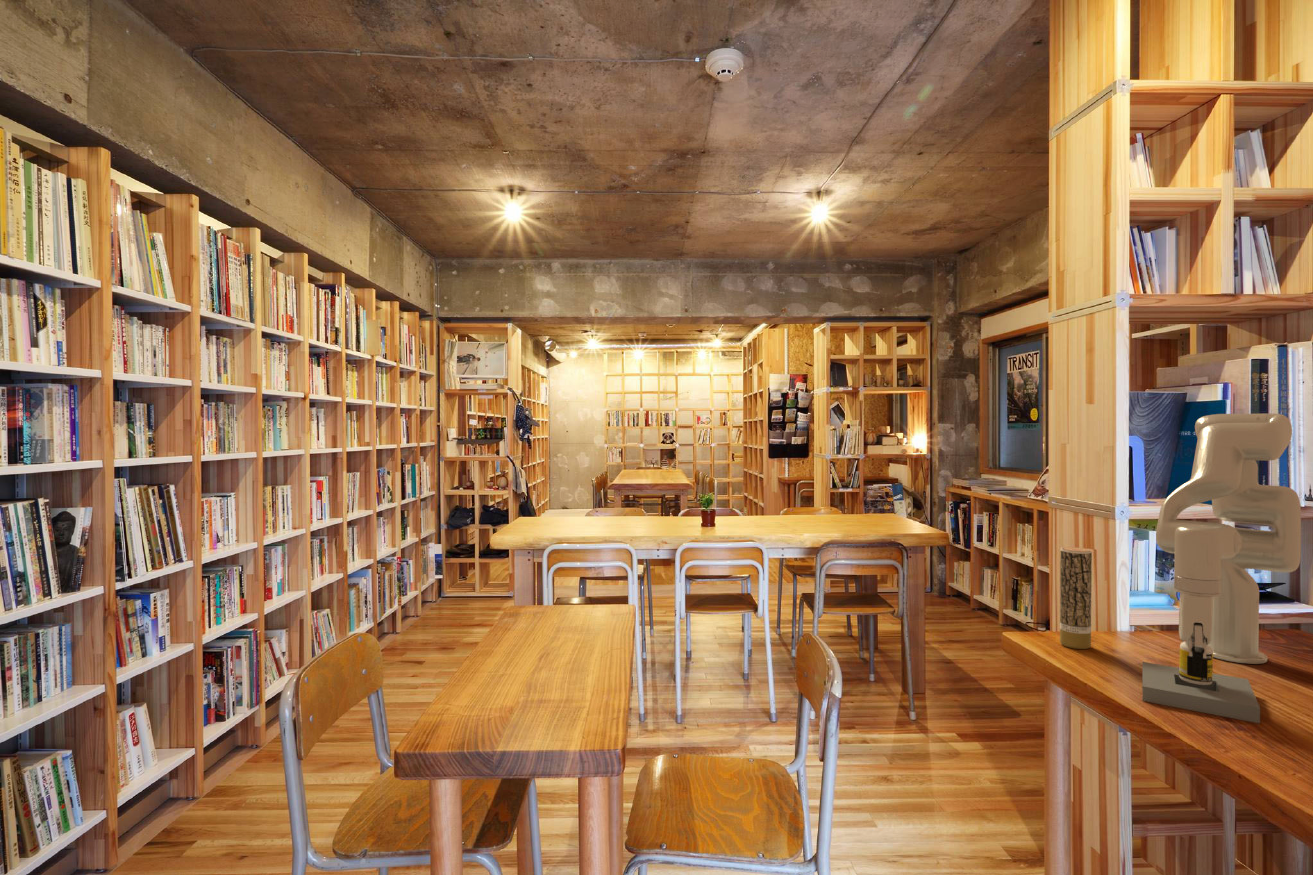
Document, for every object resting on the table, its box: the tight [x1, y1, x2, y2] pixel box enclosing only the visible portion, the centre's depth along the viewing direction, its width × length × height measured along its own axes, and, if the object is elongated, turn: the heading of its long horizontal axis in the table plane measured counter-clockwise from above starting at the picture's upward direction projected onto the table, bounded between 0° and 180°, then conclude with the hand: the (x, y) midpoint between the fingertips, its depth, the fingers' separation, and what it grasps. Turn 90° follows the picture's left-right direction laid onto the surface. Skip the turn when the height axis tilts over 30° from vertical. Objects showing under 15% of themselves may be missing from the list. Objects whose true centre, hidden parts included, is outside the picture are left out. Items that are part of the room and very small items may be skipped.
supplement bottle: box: [1178, 638, 1214, 685], centre depth 139 cm, size 5×5×10 cm
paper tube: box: [1059, 546, 1093, 650], centre depth 172 cm, size 7×7×25 cm
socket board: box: [1141, 661, 1261, 724], centre depth 139 cm, size 18×18×3 cm
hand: (1196, 671), depth 139 cm, fingers closed on supplement bottle, 5 cm apart
